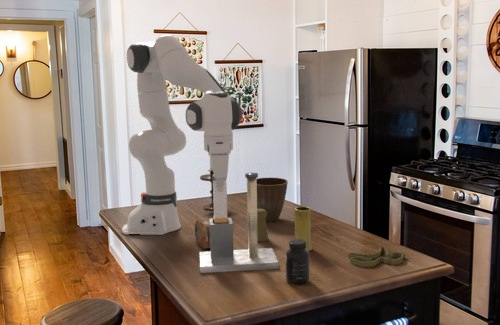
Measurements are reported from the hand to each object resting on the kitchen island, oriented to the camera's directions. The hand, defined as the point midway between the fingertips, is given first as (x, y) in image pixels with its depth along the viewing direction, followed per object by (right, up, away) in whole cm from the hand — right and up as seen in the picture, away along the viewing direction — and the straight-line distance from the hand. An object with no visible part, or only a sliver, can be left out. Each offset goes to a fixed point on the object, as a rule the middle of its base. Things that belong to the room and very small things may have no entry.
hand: (219, 188), depth 173 cm
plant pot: (+17, -15, +54) cm, 59 cm away
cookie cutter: (+50, -24, +5) cm, 55 cm away
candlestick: (-7, -13, +75) cm, 76 cm away
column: (0, -16, +3) cm, 16 cm away
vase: (+27, -22, +17) cm, 39 cm away
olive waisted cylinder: (+13, -20, +29) cm, 38 cm away
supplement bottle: (+23, -27, -12) cm, 37 cm away
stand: (+5, -24, +5) cm, 25 cm away
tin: (-6, -21, +23) cm, 32 cm away
